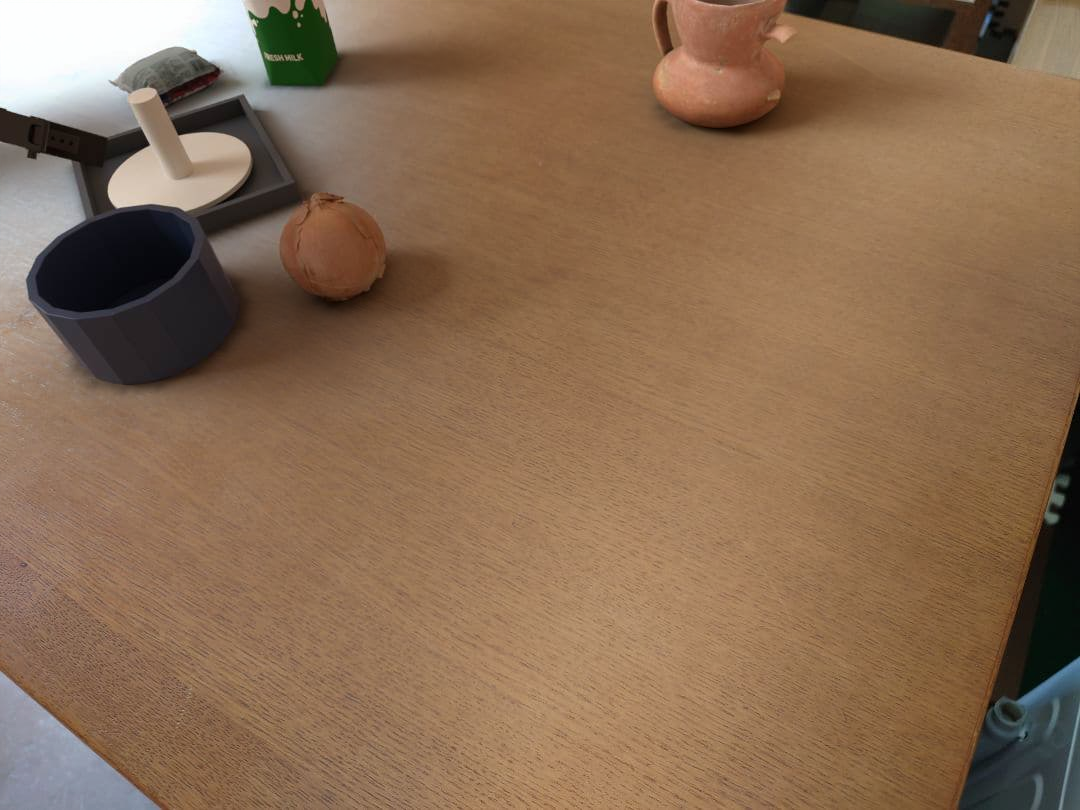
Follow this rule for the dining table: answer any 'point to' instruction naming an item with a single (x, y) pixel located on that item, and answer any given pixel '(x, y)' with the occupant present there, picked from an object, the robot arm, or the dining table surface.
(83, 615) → the dining table surface
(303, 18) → the milk carton
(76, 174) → the tray
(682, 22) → the ceramic jug
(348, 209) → the onion
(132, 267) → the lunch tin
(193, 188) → the tin lid
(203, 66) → the packaged food
